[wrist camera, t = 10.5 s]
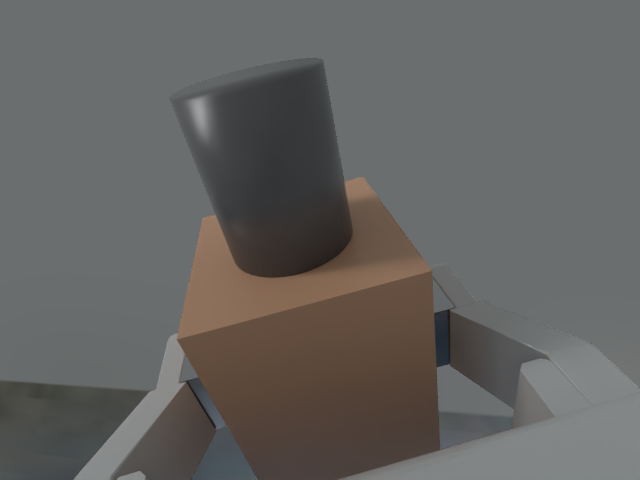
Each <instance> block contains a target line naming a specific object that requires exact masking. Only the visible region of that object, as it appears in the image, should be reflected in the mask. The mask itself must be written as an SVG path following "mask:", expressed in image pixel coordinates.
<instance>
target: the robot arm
mask: <svg viewBox="0 0 640 480" xmlns="http://www.w3.org/2000/svg"><path fill="white" fill-rule="evenodd" d="M429 267H430V268H431V270H432V278H433V301H434V323H435V346H436V367H440V366H443V365H448V364H450V366H451V367H453V368H454V369H456V370H457V371H459V372H460V373H462V374H463V375H465V376H466V377H468V378H469V379H470V380H472V381H473V382H475V383H476V384H478V385H479V386H481V387H482V388H484V389H485V390H486V391H488V392H489V393H491V394H492V395H494V396H495V397H497V398H498V399H500V400H501V401H503V402H504V403H506V404H507V405H508V406H510V407H512V408H513V409H514V415H513V421H512V428H511V429H510V430H507V431H503V432H500V433H497V434H493V435H490V436H486V437H483V438H479V439H476V440H472V441H469V442H465V443H462V444H459V445H455V446H452V447H448V448H445V449H441V450H438V451H434V452H431V453H427V454H424V455H421V456H417V457H414V458H410V459H407V460H403V461H400V462H396V463H393V464H390V465H386V466H383V467H379V468H376V469H372V470H369V471H365V472H362V473H358V474H355V475H352V476H348V477H345V478H341V479H338V480H640V389H639V388H638V387H637V386H636V385H635V384H634V383H633V382H632V381H631V380H630V379H629V378H628V377H627V376H626V375H625V374H624V373H622V372H621V371H620V370H619V369H618V368H617V367H616V366H615V365H614V364H613V363H612V362H611V361H610V360H609V359H608V358H607V357H605V356H604V355H603V354H602V353H601V352H600V351H599V350H598V349H597V348H596V347H595V346H594V345H593V344H592V343H590V342H588V341H585V340H583V339H580V338H578V337H575V336H573V335H570V334H567V333H565V332H562V331H560V330H557V329H555V328H552V327H550V326H547V325H545V324H542V323H539V322H537V321H534V320H532V319H529V318H527V317H524V316H522V315H519V314H517V313H514V312H512V311H509V310H506V309H504V308H501V307H499V306H496V305H494V304H491V303H489V302H486V301H480V302H477V300H476V299H475V298H474V297H473V296H472V294H470V292H469V291H468V290H467V288H466V287H465V286H464V285H463V284H462V283H461V281H460V280H459V279H458V278H457V276H456V275H455V274H454V273H453V272H452V270H451V269H450V268H449V267H448V265H447V264H445V263H440V264H436V265H432V266H429ZM177 336H178V334H174V335H171V337H170V338H169V339H168V342H167V346H166V351H165V355H164V359H163V363H162V367H161V371H160V375H159V379H158V383H157V387H156V390H154V391H150V392H149V393H148V394H147V395H146V396H145V398H144V399H143V400H142V401H141V402H140V403H139V404H138V406H137V407H136V408H135V409H134V410H133V411H132V413H131V414H130V415H129V416H128V417H127V418H126V419H125V421H124V422H123V423H122V424H121V425H120V426H119V427H118V429H117V430H116V431H115V432H114V433H113V434H112V436H111V437H110V438H109V439H108V440H107V441H106V442H105V444H104V445H103V446H102V447H101V448H100V449H99V450H98V452H97V453H96V454H95V455H94V456H93V457H92V459H91V460H90V461H89V462H88V463H87V464H86V465H85V467H84V468H83V469H82V470H81V471H80V472H79V473H78V475H77V476H76V477H75V478H74V479H73V480H191V478H192V477H193V475H194V473H195V471H196V469H197V467H198V465H199V463H200V461H201V460H202V458H203V456H204V454H205V452H206V450H207V448H208V446H209V444H210V443H211V441H212V439H213V437H214V435H215V433H216V430H215V429H219V428H222V427H225V426H227V425H226V423H225V422H224V420H223V418H222V417H221V415H220V413H219V411H218V410H217V408H216V406H215V405H214V403H213V401H212V399H211V398H210V396H209V394H208V393H207V391H206V389H205V387H204V386H203V384H202V382H201V380H200V379H199V377H198V375H197V374H196V372H195V370H194V368H193V367H192V365H191V363H190V362H189V360H188V358H187V356H186V355H185V353H184V351H183V350H182V348H181V346H180V344H179V343H178V341H177Z"/></svg>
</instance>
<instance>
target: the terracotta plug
mask: <svg viewBox="0 0 640 480" xmlns="http://www.w3.org/2000/svg"><path fill="white" fill-rule="evenodd" d="M170 101H171V104H172V107H173V109H174V112H175V114H176V117H177V119H178V122H179V124H180V126H181V129H182V131H183V134H184V137H185V139H186V142H187V144H188V147H189V149H190V152H191V154H192V157H193V159H194V161H195V164H196V167H197V169H198V172H199V174H200V177H201V179H202V182H203V184H204V187H205V189H206V192H207V194H208V196H209V199H210V202H211V204H212V207H213V209H214V212H215V215H212V216H208V217H205V218H203V220H202V225H201V229H200V234H199V238H198V243H197V247H196V252H195V257H194V261H193V266H192V271H191V276H190V280H189V285H188V289H187V294H186V299H185V303H184V308H183V313H182V317H181V322H180V326H179V331H178V336H177V341H178V343H179V344H180V346H181V348H182V350H183V351H184V353H185V355H186V356H187V358H188V360H189V362H190V363H191V365H192V367H193V368H194V370H195V372H196V374H197V375H198V377H199V379H200V380H201V382H202V384H203V386H204V387H205V389H206V391H207V393H208V394H209V396H210V398H211V399H212V401H213V403H214V405H215V406H216V408H217V410H218V411H219V413H220V415H221V417H222V418H223V420H224V422H225V423H226V425H227V427H228V429H229V430H230V432H231V434H232V435H233V437H234V439H235V441H236V442H237V444H238V446H239V447H240V449H241V451H242V453H243V454H244V456H245V458H246V459H247V461H248V463H249V465H250V466H251V468H252V470H253V471H254V473H255V475H256V477H257V478H258V480H338V479H341V478H345V477H348V476H352V475H355V474H358V473H362V472H365V471H369V470H372V469H376V468H379V467H383V466H386V465H390V464H393V463H396V462H400V461H403V460H407V459H410V458H414V457H417V456H421V455H424V454H427V453H431V452H434V451H438V450H440V437H439V414H438V391H437V369H436V346H435V323H434V301H433V278H432V270H431V268H430V267H429V266H428V265H427V263H426V262H425V260H424V259H423V258H422V256H421V255H420V254H419V252H418V251H417V249H416V248H415V247H414V246H413V244H412V243H411V241H410V240H409V239H408V237H407V236H406V235H405V233H404V232H403V230H402V229H401V228H400V226H399V225H398V224H397V222H396V221H395V220H394V218H393V217H392V215H391V214H390V213H389V211H388V210H387V209H386V207H385V206H384V205H383V203H382V202H381V201H380V199H379V198H378V196H377V195H376V194H375V193H374V191H373V190H372V188H371V187H370V186H369V184H368V183H367V182H366V180H365V179H364V177H360V178H356V179H352V180H349V181H345V182H344V176H343V170H342V165H341V159H340V153H339V148H338V143H337V136H336V131H335V125H334V119H333V113H332V108H331V102H330V96H329V91H328V85H327V79H326V74H325V68H324V63H323V60H322V59H318V58H305V59H295V60H288V61H281V62H276V63H271V64H265V65H261V66H256V67H252V68H248V69H244V70H239V71H236V72H232V73H228V74H225V75H221V76H218V77H214V78H211V79H208V80H205V81H202V82H199V83H196V84H194V85H191V86H189V87H186V88H184V89H182V90H179V91H178V92H176V93H174V94H173V95H171V96H170Z"/></svg>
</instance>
